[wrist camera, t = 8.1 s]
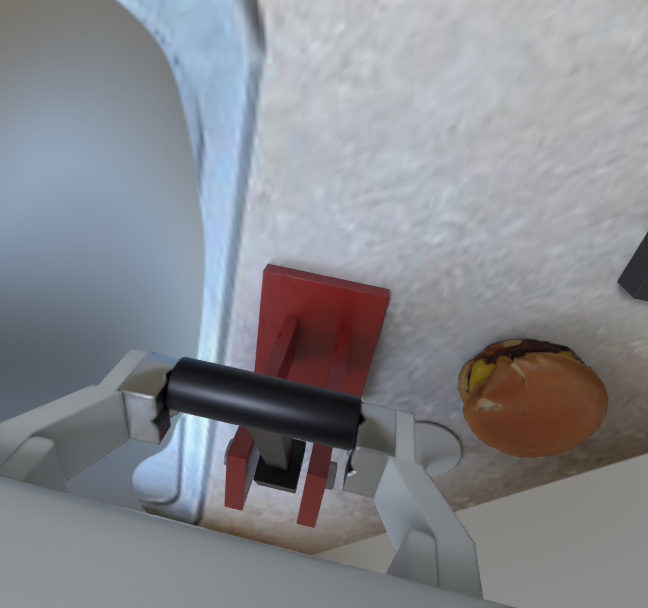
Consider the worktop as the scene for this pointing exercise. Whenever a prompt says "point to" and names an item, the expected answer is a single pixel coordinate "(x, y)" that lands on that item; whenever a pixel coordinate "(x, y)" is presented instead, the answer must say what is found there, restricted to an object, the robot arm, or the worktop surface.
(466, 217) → the worktop surface
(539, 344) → the burger
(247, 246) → the worktop surface
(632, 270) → the button box
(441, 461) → the wineglass
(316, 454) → the bracket
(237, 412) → the lever
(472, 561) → the robot arm
